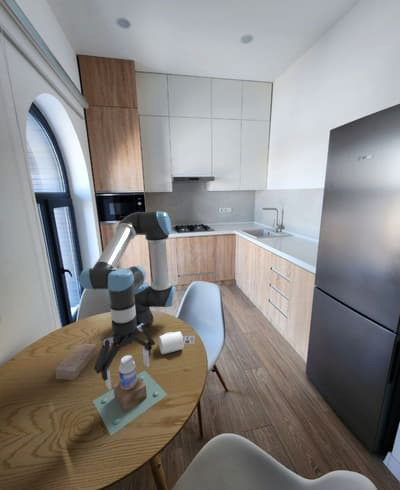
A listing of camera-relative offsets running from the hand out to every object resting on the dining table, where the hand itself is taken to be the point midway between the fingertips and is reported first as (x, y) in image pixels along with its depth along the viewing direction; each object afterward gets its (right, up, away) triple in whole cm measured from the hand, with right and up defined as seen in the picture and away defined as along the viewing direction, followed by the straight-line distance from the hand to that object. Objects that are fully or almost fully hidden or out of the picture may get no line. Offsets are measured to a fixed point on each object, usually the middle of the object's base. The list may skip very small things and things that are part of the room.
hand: (128, 375), depth 74 cm
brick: (-29, -8, +20) cm, 36 cm away
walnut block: (0, -9, +2) cm, 9 cm away
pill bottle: (0, -4, +1) cm, 4 cm away
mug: (+10, -5, +30) cm, 32 cm away
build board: (0, -10, +2) cm, 10 cm away
